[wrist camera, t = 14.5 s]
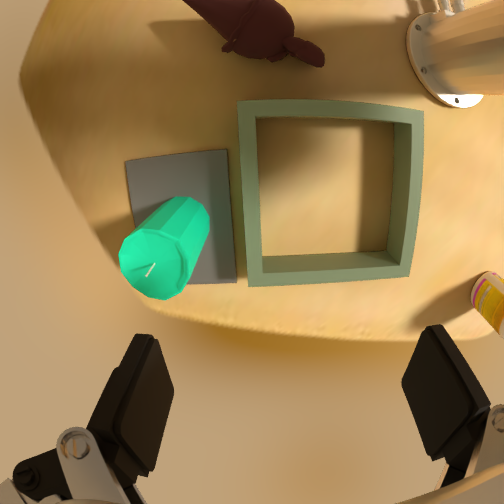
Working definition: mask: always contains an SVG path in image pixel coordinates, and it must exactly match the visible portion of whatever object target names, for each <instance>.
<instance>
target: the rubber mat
mask: <svg viewBox="0 0 504 504" xmlns="http://www.w3.org/2000/svg"><path fill="white" fill-rule="evenodd" d="M125 162H126V170H127V178H128V185H129V192H130V199H131V205H132V211H133V217H134V222H135V228H137V227H138V226H139V225H140V224H141V223H142V222H143V221H144V220H146V219H147V218H148V217H149V216H150V215H151V214H152V213H153V212H154V211H156V210H157V209H158V208H159V207H160V206H161V205H162V204H164V203H165V202H167V201H169V200H170V199H172V198H174V197H191V198H193V199H194V200H196V201H198V202H199V203H201V204H202V205H203V206H204V208H205V210H206V212H207V213H208V215H209V217H210V220H209V233H208V235H207V238H206V240H205V243H204V245H203V247H202V250H201V252H200V255H199V257H198V259H197V262H196V264H195V267H194V269H193V272H192V274H191V277H190V279H189V280H188V282H187V284H219V283H237V276H236V264H235V252H234V240H233V228H232V215H231V202H230V188H229V174H228V160H227V149H222V150H210V151H199V152H190V153H181V154H172V155H164V156H157V157H150V158H143V159H136V160H130V161H125Z"/></svg>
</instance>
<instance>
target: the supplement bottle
mask: <svg viewBox="0 0 504 504" xmlns="http://www.w3.org/2000/svg"><path fill="white" fill-rule="evenodd" d="M471 303H472V305H473V307H474V308H475V309H476V310H477V311H478V312H479V313H480V314H481V315H482V316H483V317H484V318H485V319H486V320H487V322H488V323H489V324H490V325H491V326H492V327H493V328H494V329H495V330H496V332H497V333H498V334H499V335H500V336H501V337H502V338H503V339H504V279H503V278H501V277H500V276H499V275H498V274H496V273H495V272H492V271H490V272H487V273H485V274H483V275H482V276H481V277H480V278H479V279H478V280H477V282H476V283H475V285H474V287H473V289H472V292H471Z"/></svg>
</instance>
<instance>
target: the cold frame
mask: <svg viewBox="0 0 504 504" xmlns="http://www.w3.org/2000/svg"><path fill="white" fill-rule="evenodd" d="M237 113H238V130H239V147H240V164H241V180H242V196H243V212H244V227H245V243H246V258H247V273H248V287H262V286H284V285H302V284H319V283H335V282H350V281H363V280H376V279H388V278H400V277H409V274H410V268H411V263H412V258H413V252H414V246H415V240H416V233H417V226H418V218H419V210H420V200H421V189H422V176H423V156H424V111H420V110H415V109H409V108H402V107H395V106H388V105H380V104H371V103H361V102H350V101H335V100H312V99H269V100H245V101H237ZM255 118H336V119H354V120H367V121H378V122H387V123H394V168H393V187H392V202H391V213H390V223H389V232H388V241H387V249H386V251H372V252H352V253H331V254H310V255H288V256H266V257H262V246H261V223H260V201H259V180H258V159H257V140H256V121H255Z"/></svg>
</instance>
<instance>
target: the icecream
mask: <svg viewBox="0 0 504 504" xmlns="http://www.w3.org/2000/svg"><path fill="white" fill-rule="evenodd" d="M183 1H184V2H185V3H186V4H187V5H189V6H190V7H191V8H192V9H193V10H195V11H196V12H197V13H198V14H199V15H200V16H201V17H203V18H204V19H205V20H206V21H207V22H208V23H209V24H210V25H211V26H212V27H213V28H215V29H216V30H217V31H218V32H219V33H220V34H221V35H222V36H223V37H224V38H225V39H226V40H227V41H228V42H227V43H226V44H225V45H224V46H223V47H222V52H227V53H228V52H231V51H234V52H235V53H237V54H239V55H242V56H244V57H247V58H254V59H264V58H266V59H267V60H269V61H271V62H275V61H278V60H281V59H283V58H284V57H285V56H286V55H287V52H288V54H290V55H291V56H293V57H297V58H298V59H300V60H302V61H304V62H306V63H307V64H310V65H312V66H315V67H323V66H324V64H325V57H324V53H323V52H322V50H321V49H320V48H319V47H317V46H316V45H314V44H313V43H311V42H309V41H304V40H302V39H300V38H296V37H293V36H294V23H293V21H292V18H291V16H290V14H289V13H288V12H287V11H286V9H285V8H284V7H283V6H282V5H280V4H279V3H278V2H276V1H275V0H183Z"/></svg>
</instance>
